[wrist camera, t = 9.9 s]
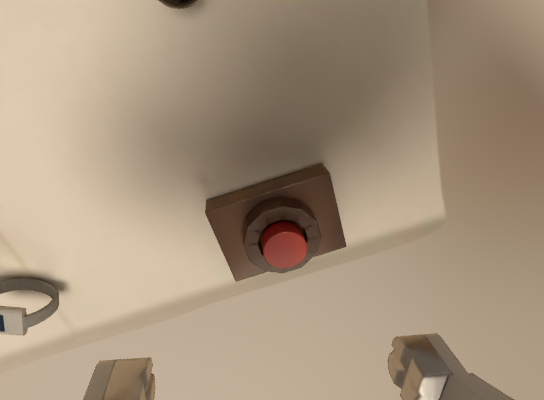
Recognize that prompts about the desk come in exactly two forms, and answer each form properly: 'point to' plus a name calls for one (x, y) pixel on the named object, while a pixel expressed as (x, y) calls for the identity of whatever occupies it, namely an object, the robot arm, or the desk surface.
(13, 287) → the wristwatch
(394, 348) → the robot arm
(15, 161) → the desk surface
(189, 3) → the ball knob lever
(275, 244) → the button
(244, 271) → the panel
